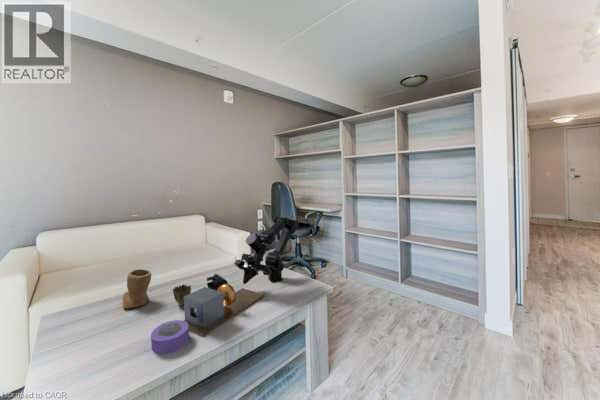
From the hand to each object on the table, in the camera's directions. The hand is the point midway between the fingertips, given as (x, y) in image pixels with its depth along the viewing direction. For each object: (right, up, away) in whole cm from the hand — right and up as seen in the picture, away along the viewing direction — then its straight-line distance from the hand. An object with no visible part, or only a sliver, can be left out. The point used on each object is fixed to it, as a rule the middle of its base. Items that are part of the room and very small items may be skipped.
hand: (243, 283), depth 121 cm
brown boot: (-49, -8, -1) cm, 50 cm away
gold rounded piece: (-9, -7, -15) cm, 19 cm away
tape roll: (-19, -11, -31) cm, 38 cm away
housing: (-6, -8, -9) cm, 14 cm away
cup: (-27, -8, -5) cm, 28 cm away
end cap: (-16, -7, +11) cm, 21 cm away
